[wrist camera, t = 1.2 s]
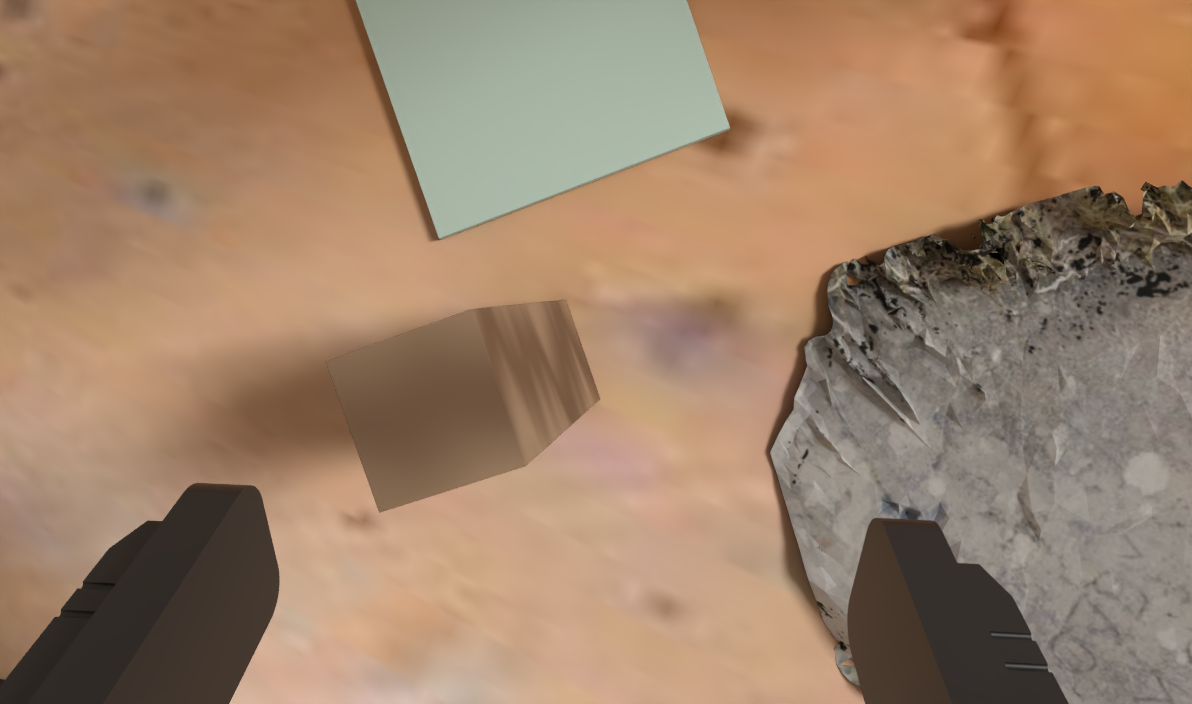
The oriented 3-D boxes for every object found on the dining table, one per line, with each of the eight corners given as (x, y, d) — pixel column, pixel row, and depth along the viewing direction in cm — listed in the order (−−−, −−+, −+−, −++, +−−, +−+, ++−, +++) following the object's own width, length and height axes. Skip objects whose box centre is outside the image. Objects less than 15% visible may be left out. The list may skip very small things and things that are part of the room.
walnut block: (600, 399, 35) (525, 466, 22) (504, 430, 36) (379, 512, 23) (566, 299, 35) (470, 309, 22) (471, 333, 35) (325, 361, 23)
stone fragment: (917, 927, 35) (953, 1071, 29) (725, 296, 34) (719, 302, 28) (1613, 835, 30) (1843, 986, 24) (1415, 84, 29) (1601, 33, 23)
